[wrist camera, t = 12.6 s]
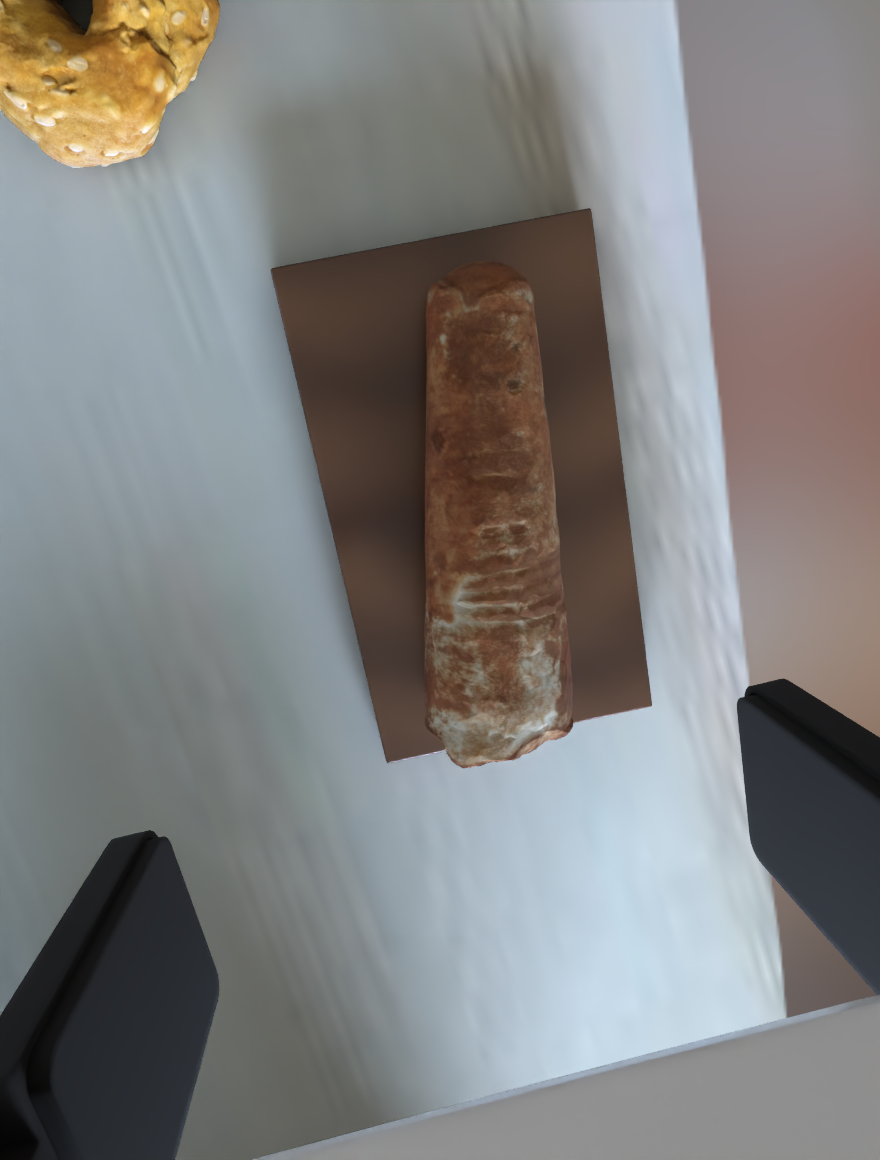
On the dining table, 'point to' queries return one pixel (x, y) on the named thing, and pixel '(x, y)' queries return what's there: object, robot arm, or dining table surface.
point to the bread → (490, 525)
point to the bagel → (99, 72)
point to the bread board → (398, 453)
